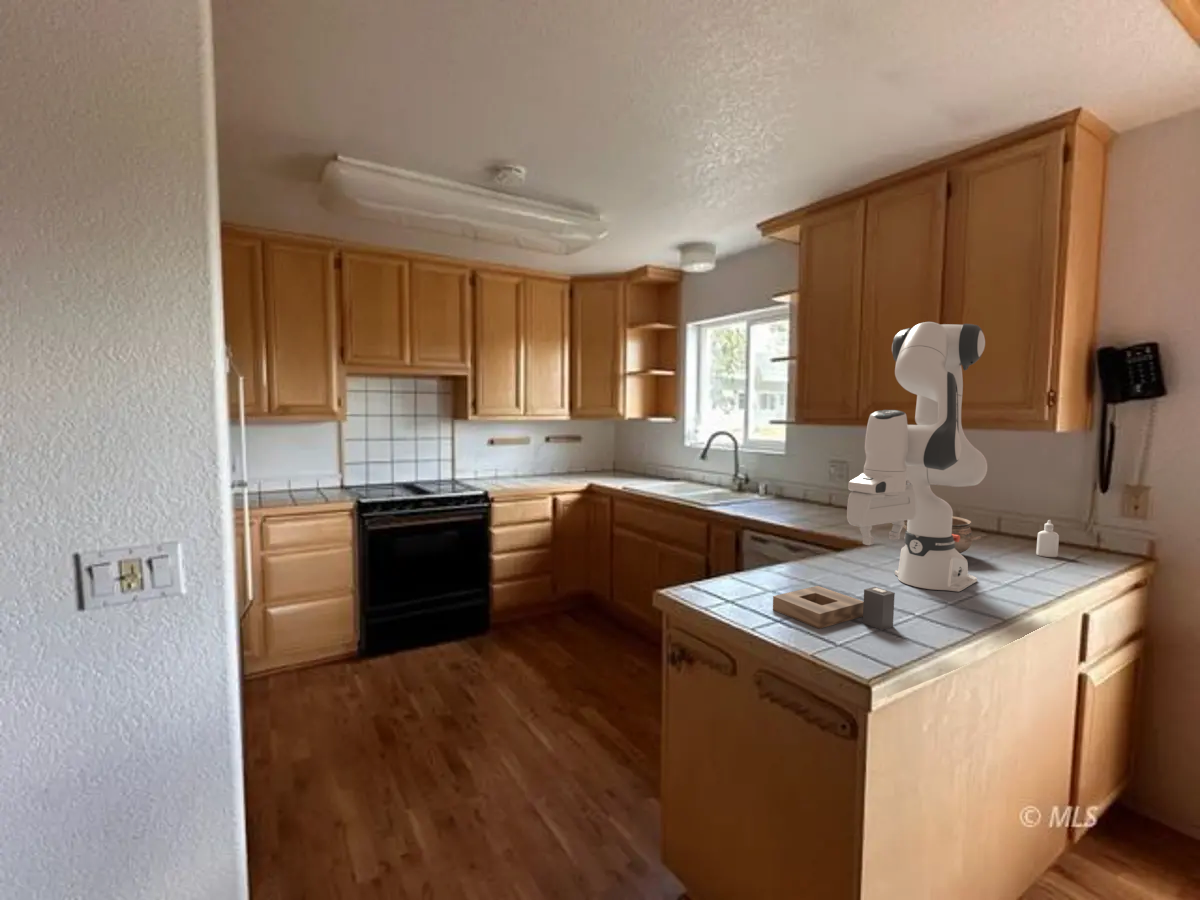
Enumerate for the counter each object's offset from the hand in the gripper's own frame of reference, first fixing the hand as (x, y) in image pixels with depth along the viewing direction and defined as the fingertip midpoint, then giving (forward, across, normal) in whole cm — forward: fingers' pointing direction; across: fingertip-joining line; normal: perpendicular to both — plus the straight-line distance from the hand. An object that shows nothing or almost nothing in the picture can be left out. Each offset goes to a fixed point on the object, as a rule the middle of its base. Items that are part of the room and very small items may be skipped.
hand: (881, 542), depth 138 cm
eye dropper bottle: (+19, -102, -10) cm, 105 cm away
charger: (+20, 0, 0) cm, 20 cm away
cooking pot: (+19, -71, -28) cm, 79 cm away
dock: (+20, +6, -12) cm, 24 cm away
